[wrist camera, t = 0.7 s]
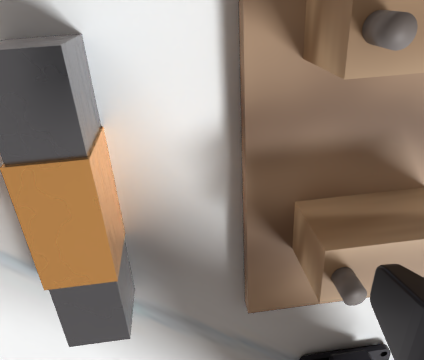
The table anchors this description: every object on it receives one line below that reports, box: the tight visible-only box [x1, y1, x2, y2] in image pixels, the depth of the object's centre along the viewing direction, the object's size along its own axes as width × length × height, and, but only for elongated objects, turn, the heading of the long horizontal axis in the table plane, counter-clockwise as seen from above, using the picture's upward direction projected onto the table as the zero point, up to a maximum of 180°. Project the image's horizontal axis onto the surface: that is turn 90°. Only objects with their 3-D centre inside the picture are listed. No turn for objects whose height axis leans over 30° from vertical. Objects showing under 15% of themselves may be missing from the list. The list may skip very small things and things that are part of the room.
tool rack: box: [239, 0, 424, 313], centre depth 15 cm, size 22×12×6 cm, turn 3°
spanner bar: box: [0, 34, 135, 347], centre depth 17 cm, size 14×3×4 cm, turn 3°
